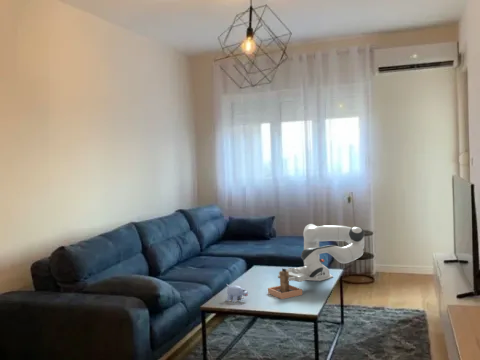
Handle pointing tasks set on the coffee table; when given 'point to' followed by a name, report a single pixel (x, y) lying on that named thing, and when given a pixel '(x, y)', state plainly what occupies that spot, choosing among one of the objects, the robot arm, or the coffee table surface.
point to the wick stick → (284, 280)
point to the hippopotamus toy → (235, 293)
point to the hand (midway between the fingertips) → (283, 278)
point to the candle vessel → (291, 293)
